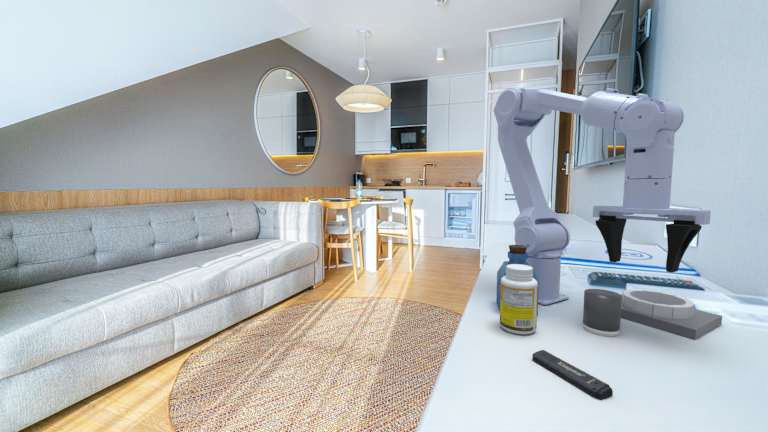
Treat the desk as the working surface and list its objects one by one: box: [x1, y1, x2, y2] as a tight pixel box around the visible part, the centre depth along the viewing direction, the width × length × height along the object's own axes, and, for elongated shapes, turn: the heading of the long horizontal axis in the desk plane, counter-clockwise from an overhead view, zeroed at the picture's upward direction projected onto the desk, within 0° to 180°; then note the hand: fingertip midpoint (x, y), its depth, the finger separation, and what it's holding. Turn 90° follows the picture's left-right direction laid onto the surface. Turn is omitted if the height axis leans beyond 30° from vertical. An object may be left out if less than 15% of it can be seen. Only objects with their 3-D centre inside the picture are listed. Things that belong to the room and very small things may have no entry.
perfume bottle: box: [495, 244, 539, 318], centre depth 62 cm, size 6×6×12 cm
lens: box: [582, 288, 622, 338], centre depth 53 cm, size 5×5×6 cm
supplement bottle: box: [499, 264, 538, 336], centre depth 53 cm, size 6×6×10 cm
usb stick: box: [532, 349, 614, 400], centre depth 40 cm, size 10×3×2 cm, turn 22°
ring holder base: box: [620, 288, 723, 341], centre depth 58 cm, size 14×11×4 cm
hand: (641, 266), depth 52 cm, fingers open, 7 cm apart
